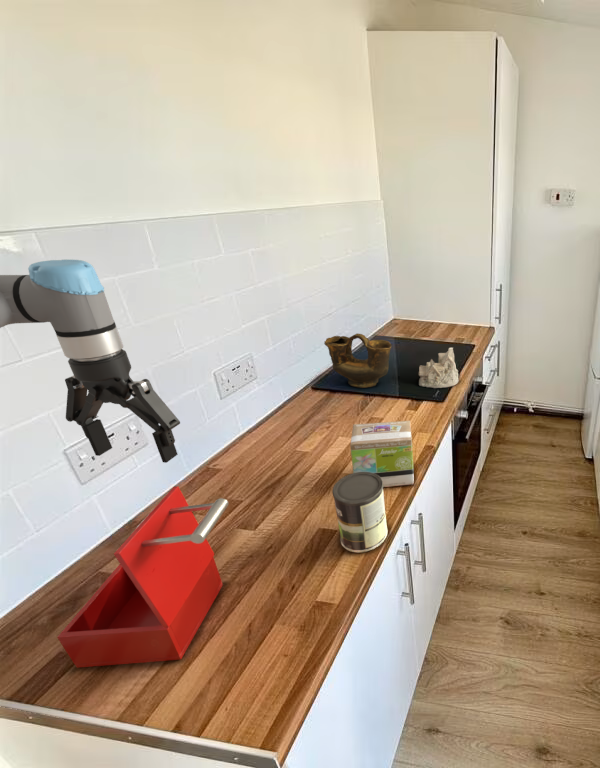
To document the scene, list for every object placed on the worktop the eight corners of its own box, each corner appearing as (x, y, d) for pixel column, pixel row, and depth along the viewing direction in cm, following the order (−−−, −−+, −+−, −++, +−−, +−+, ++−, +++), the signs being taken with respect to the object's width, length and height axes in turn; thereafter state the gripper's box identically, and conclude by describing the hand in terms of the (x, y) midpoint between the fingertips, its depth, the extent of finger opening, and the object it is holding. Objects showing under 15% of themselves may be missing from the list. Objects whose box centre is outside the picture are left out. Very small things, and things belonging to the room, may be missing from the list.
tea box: (355, 492, 111) (348, 444, 104) (357, 468, 119) (351, 423, 113) (414, 485, 114) (412, 438, 108) (413, 462, 123) (410, 418, 117)
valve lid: (113, 554, 61) (185, 544, 61) (173, 486, 74) (232, 479, 74) (163, 628, 68) (227, 618, 69) (210, 554, 81) (264, 547, 82)
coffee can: (341, 558, 92) (332, 507, 86) (340, 524, 101) (332, 476, 94) (390, 546, 95) (385, 497, 89) (385, 515, 104) (380, 467, 98)
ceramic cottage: (460, 371, 181) (458, 337, 174) (456, 390, 166) (453, 354, 159) (423, 371, 181) (419, 338, 174) (416, 390, 166) (411, 355, 159)
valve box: (76, 668, 70) (56, 637, 66) (136, 590, 83) (122, 561, 79) (181, 659, 72) (167, 629, 68) (223, 584, 85) (213, 556, 81)
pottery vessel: (324, 385, 163) (317, 336, 154) (337, 374, 173) (331, 326, 164) (389, 391, 162) (385, 341, 153) (398, 379, 171) (395, 331, 163)
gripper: (182, 351, 77) (212, 450, 86) (52, 340, 78) (95, 438, 88) (146, 368, 70) (183, 473, 79) (4, 355, 72) (57, 460, 81)
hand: (137, 455), depth 83 cm, fingers open, 13 cm apart
